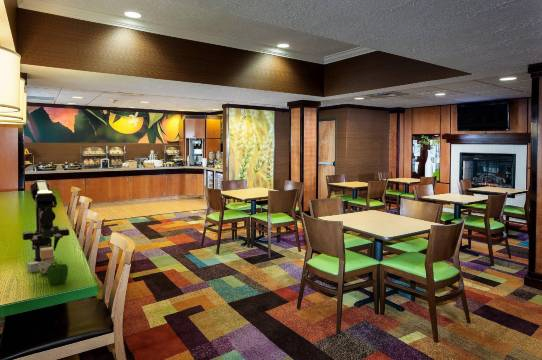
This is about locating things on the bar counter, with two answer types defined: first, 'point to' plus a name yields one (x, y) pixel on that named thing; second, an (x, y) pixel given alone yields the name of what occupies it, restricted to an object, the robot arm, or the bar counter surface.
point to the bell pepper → (57, 273)
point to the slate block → (32, 267)
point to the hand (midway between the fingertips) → (46, 251)
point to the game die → (45, 264)
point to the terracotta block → (46, 252)
